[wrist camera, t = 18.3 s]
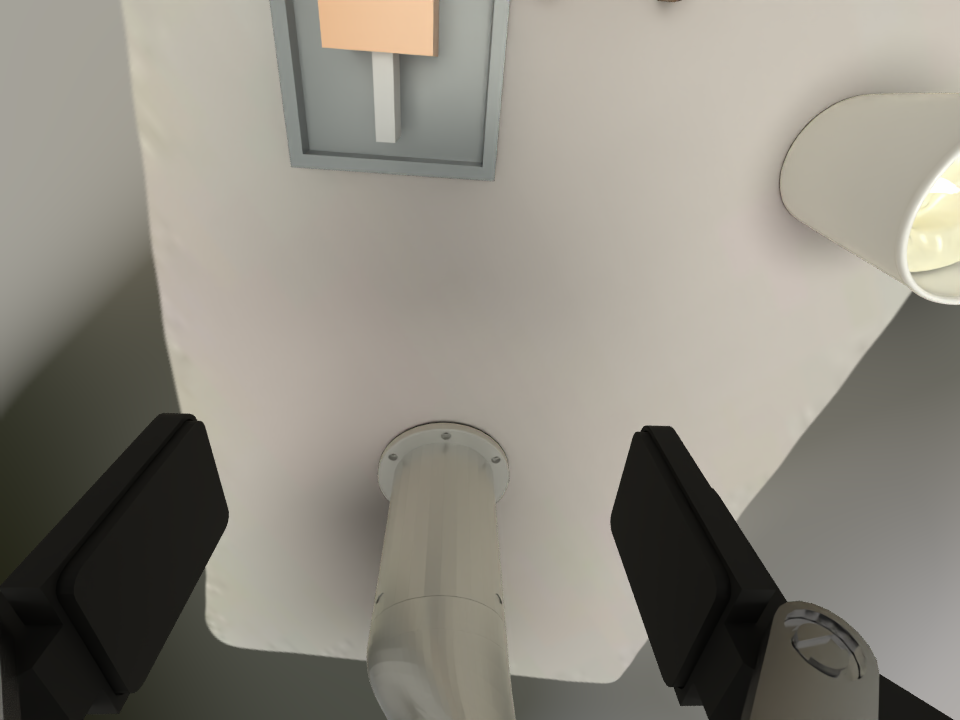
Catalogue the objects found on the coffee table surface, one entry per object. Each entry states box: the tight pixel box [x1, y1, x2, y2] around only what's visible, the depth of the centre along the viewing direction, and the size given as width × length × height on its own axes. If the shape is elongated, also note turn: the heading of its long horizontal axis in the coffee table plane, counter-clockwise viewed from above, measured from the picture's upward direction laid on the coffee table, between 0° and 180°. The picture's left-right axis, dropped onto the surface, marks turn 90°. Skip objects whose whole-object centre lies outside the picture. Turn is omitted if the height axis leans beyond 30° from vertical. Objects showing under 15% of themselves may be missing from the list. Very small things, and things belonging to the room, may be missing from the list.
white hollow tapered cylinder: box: [780, 93, 960, 305], centre depth 27 cm, size 10×10×12 cm
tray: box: [269, 0, 510, 181], centre depth 26 cm, size 17×13×2 cm
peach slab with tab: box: [318, 0, 439, 143], centre depth 24 cm, size 11×5×7 cm, turn 176°
